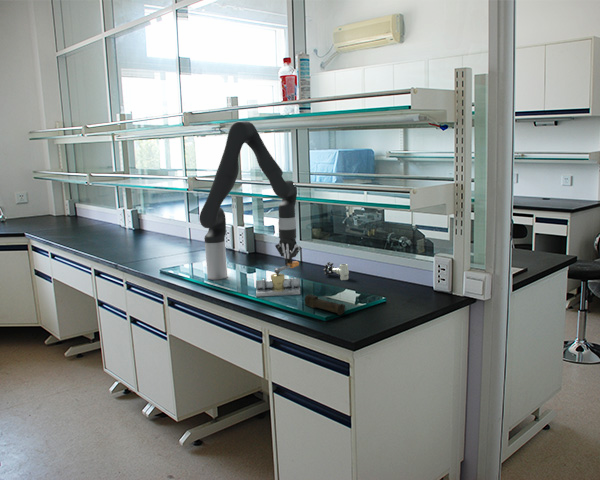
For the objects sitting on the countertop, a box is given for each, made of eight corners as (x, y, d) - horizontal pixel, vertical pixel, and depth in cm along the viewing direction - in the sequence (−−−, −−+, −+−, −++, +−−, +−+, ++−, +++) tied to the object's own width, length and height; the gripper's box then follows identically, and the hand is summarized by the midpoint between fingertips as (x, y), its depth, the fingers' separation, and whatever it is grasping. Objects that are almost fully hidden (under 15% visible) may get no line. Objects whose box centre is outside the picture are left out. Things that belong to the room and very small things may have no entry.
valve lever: (278, 273, 226) (277, 269, 226) (273, 272, 228) (273, 268, 227) (298, 265, 238) (298, 261, 238) (294, 265, 240) (294, 261, 239)
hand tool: (346, 313, 197) (345, 301, 197) (338, 316, 195) (337, 303, 194) (310, 303, 212) (310, 292, 211) (302, 306, 209) (302, 294, 208)
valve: (352, 278, 245) (333, 274, 254) (352, 264, 244) (332, 260, 252) (342, 281, 240) (323, 277, 249) (342, 266, 239) (322, 263, 248)
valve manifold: (257, 288, 235) (256, 270, 234) (299, 286, 235) (298, 268, 234) (256, 296, 223) (255, 277, 222) (300, 294, 224) (299, 275, 222)
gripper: (304, 227, 235) (305, 266, 239) (280, 225, 243) (282, 263, 247) (294, 230, 229) (295, 270, 233) (269, 227, 237) (271, 266, 241)
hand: (288, 266), depth 240 cm, fingers closed
